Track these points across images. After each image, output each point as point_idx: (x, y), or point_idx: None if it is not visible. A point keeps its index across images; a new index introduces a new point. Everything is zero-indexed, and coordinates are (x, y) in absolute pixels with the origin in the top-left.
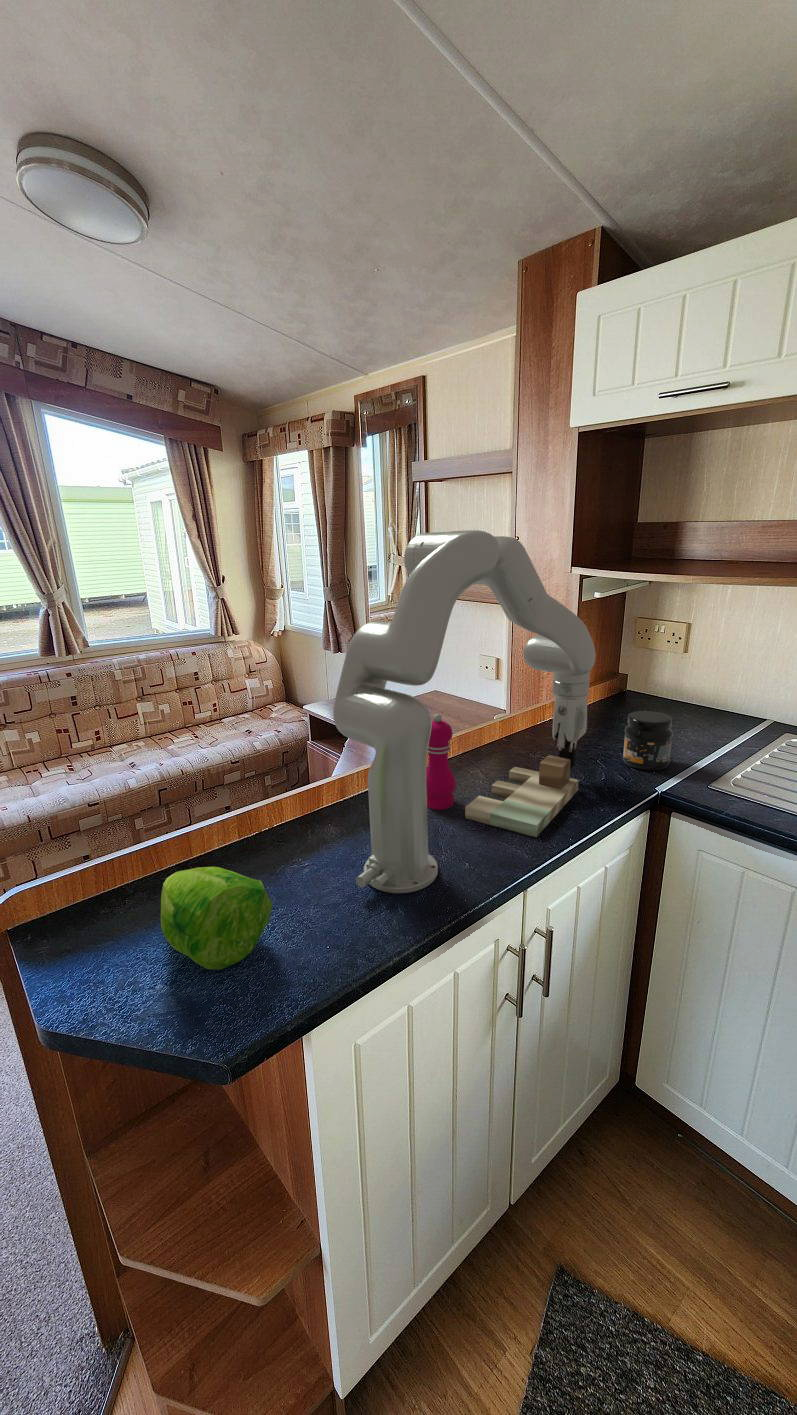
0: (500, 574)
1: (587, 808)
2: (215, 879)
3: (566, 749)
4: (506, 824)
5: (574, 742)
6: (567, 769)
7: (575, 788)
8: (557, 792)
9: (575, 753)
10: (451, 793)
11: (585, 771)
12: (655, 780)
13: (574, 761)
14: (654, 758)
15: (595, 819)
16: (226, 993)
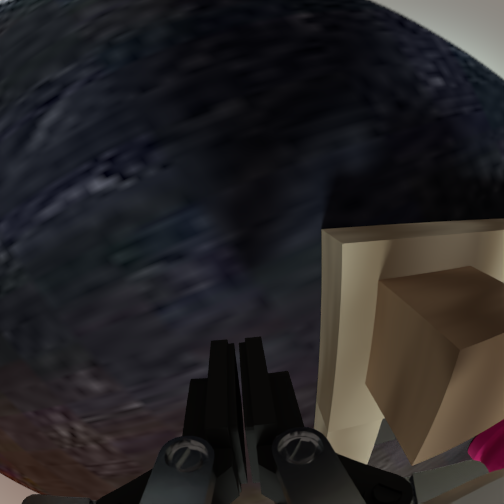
0: None
1: (453, 134)
2: None
3: (355, 466)
4: None
5: (204, 499)
6: (468, 309)
7: (372, 231)
8: (494, 264)
9: (207, 402)
10: (491, 440)
11: (77, 289)
12: (26, 16)
13: (224, 358)
14: None
15: (492, 96)
16: None
